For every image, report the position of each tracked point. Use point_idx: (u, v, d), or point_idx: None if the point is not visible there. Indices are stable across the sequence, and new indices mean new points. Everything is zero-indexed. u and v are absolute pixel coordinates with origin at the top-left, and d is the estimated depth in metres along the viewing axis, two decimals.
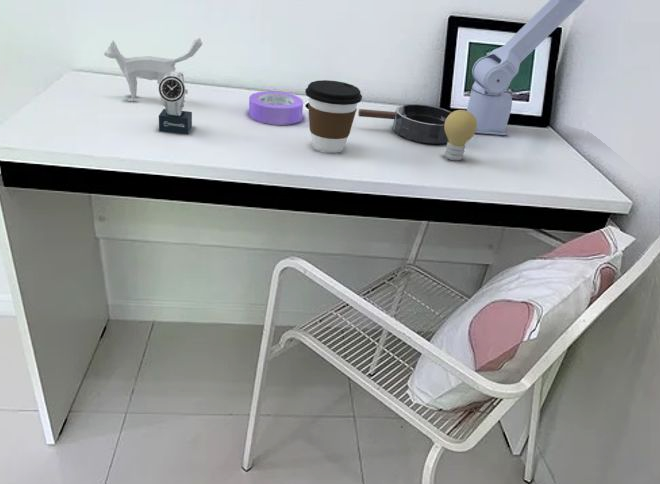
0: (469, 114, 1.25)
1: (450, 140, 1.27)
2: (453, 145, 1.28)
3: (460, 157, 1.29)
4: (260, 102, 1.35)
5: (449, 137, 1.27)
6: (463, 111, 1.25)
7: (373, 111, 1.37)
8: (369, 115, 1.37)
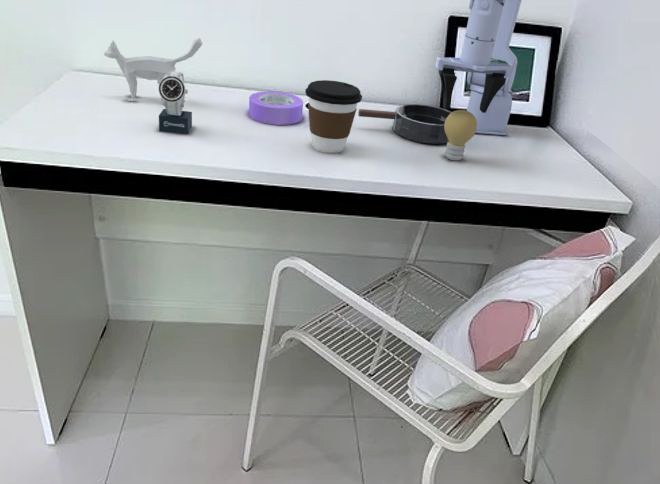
0: (469, 114, 1.25)
1: (450, 140, 1.27)
2: (453, 145, 1.28)
3: (460, 157, 1.29)
4: (260, 102, 1.35)
5: (449, 137, 1.27)
6: (463, 111, 1.25)
7: (373, 111, 1.37)
8: (369, 115, 1.37)
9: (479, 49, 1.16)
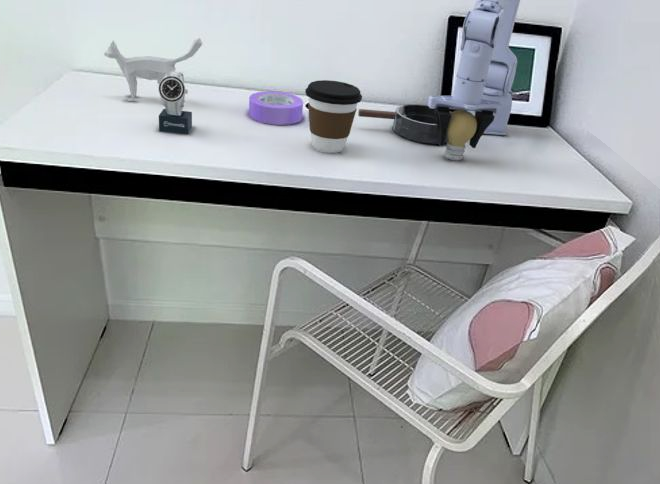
0: (469, 114, 1.25)
1: (450, 140, 1.27)
2: (453, 145, 1.28)
3: (460, 157, 1.29)
4: (260, 102, 1.35)
5: (449, 137, 1.27)
6: (463, 111, 1.25)
7: (373, 111, 1.37)
8: (369, 115, 1.37)
9: (470, 89, 1.20)
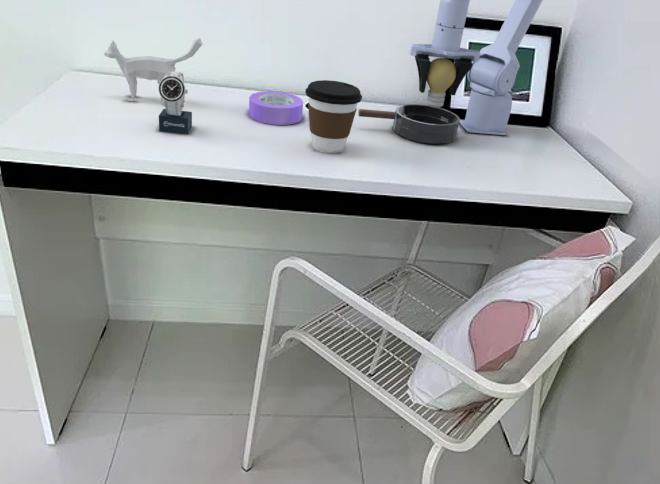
0: (448, 61, 1.31)
1: (431, 87, 1.33)
2: (434, 92, 1.34)
3: (441, 104, 1.35)
4: (260, 102, 1.35)
5: (430, 84, 1.33)
6: (443, 59, 1.31)
7: (373, 111, 1.37)
8: (369, 115, 1.37)
9: (449, 36, 1.26)
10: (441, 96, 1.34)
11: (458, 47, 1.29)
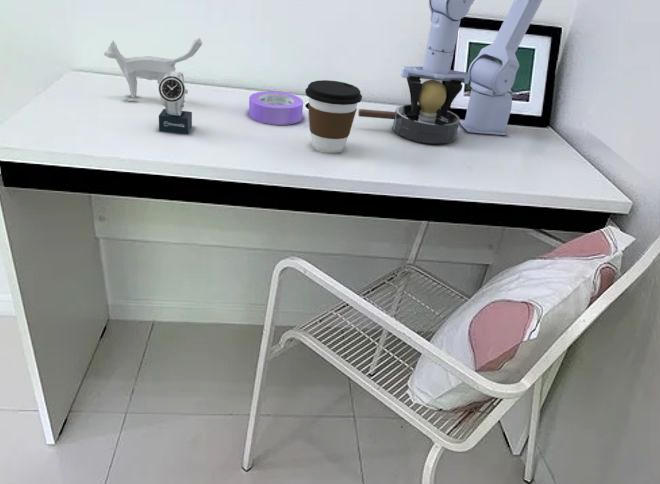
0: (439, 83, 1.35)
1: (422, 108, 1.38)
2: (425, 113, 1.38)
3: None
4: (260, 102, 1.35)
5: (421, 105, 1.37)
6: (434, 81, 1.35)
7: (373, 111, 1.37)
8: (369, 115, 1.37)
9: (439, 59, 1.30)
10: (432, 116, 1.38)
11: (448, 70, 1.33)
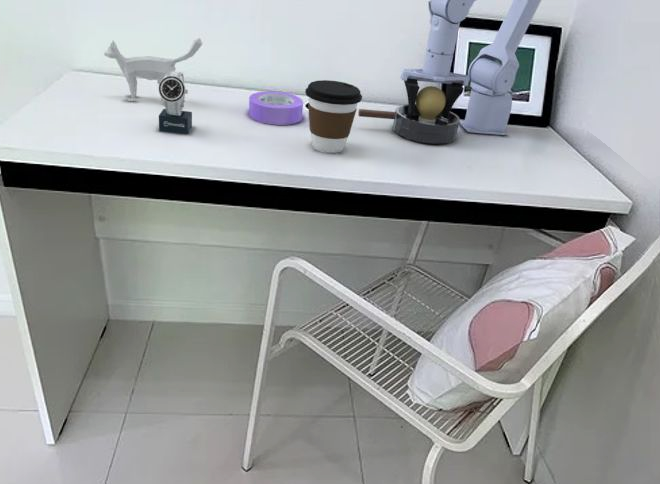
0: (438, 90, 1.36)
1: (421, 114, 1.38)
2: (424, 119, 1.39)
3: None
4: (260, 102, 1.35)
5: (420, 111, 1.38)
6: (432, 87, 1.36)
7: (373, 111, 1.37)
8: (369, 115, 1.37)
9: (439, 62, 1.31)
10: (431, 122, 1.39)
11: (448, 72, 1.33)
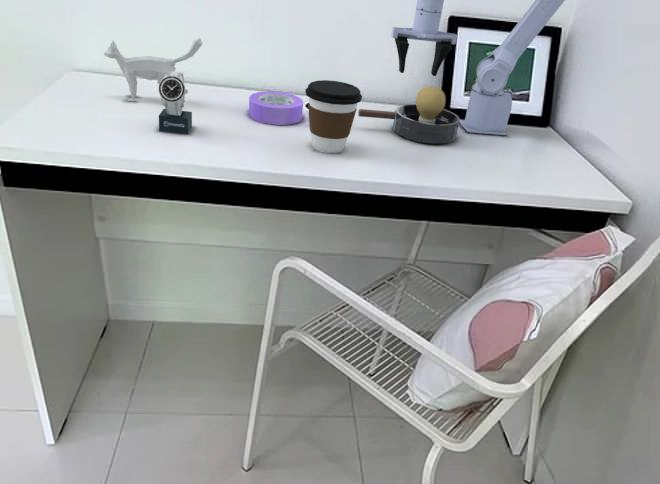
0: (438, 90, 1.36)
1: (421, 114, 1.38)
2: (424, 119, 1.39)
3: None
4: (260, 102, 1.35)
5: (420, 111, 1.38)
6: (432, 87, 1.36)
7: (373, 111, 1.37)
8: (369, 115, 1.37)
9: (427, 19, 1.37)
10: (431, 122, 1.39)
11: (436, 30, 1.39)
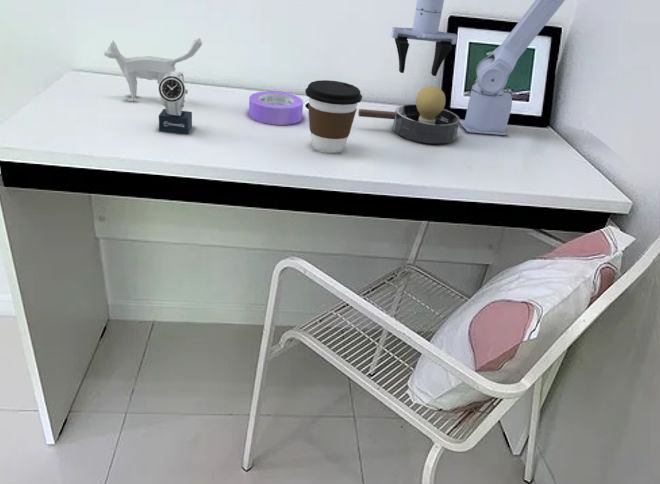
0: (438, 90, 1.36)
1: (421, 114, 1.38)
2: (424, 119, 1.39)
3: None
4: (260, 102, 1.35)
5: (420, 111, 1.38)
6: (432, 87, 1.36)
7: (373, 111, 1.37)
8: (369, 115, 1.37)
9: (427, 19, 1.37)
10: (431, 122, 1.39)
11: (436, 30, 1.39)
